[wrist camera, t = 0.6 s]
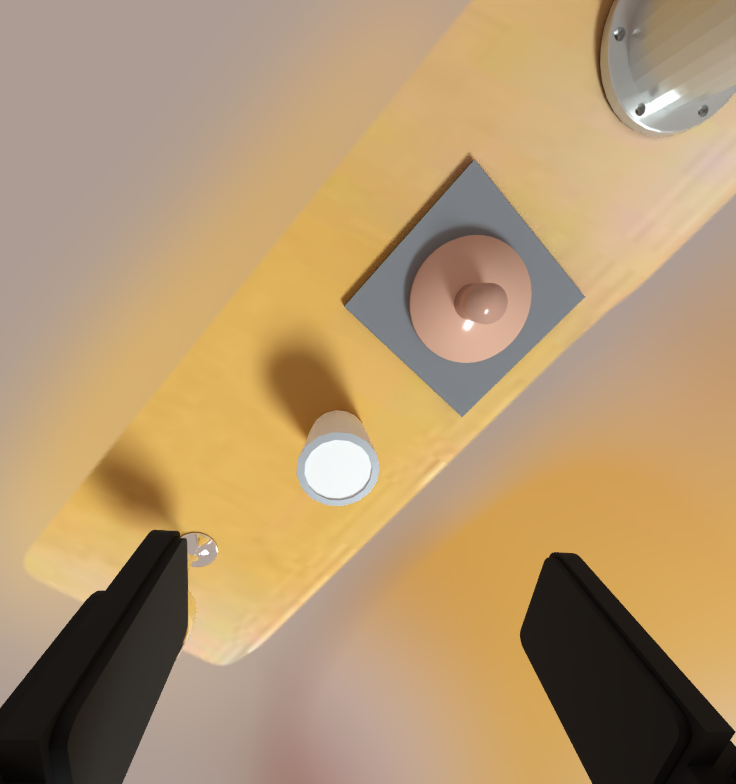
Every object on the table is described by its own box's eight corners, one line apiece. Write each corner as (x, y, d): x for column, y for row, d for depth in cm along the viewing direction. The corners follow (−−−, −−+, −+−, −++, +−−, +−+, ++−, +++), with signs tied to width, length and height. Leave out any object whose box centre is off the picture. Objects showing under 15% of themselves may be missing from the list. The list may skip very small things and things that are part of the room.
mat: (472, 162, 29) (474, 159, 29) (580, 296, 33) (585, 296, 33) (344, 306, 32) (344, 306, 31) (460, 414, 36) (462, 417, 35)
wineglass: (156, 546, 37) (77, 662, 26) (198, 518, 37) (136, 623, 25) (194, 579, 39) (136, 702, 27) (235, 553, 38) (192, 666, 27)
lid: (532, 236, 31) (564, 227, 26) (519, 358, 34) (545, 368, 30) (409, 236, 30) (421, 228, 26) (407, 362, 33) (418, 373, 29)
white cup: (369, 401, 35) (377, 428, 28) (373, 463, 37) (381, 502, 30) (300, 407, 34) (291, 436, 27) (307, 469, 36) (301, 510, 29)
